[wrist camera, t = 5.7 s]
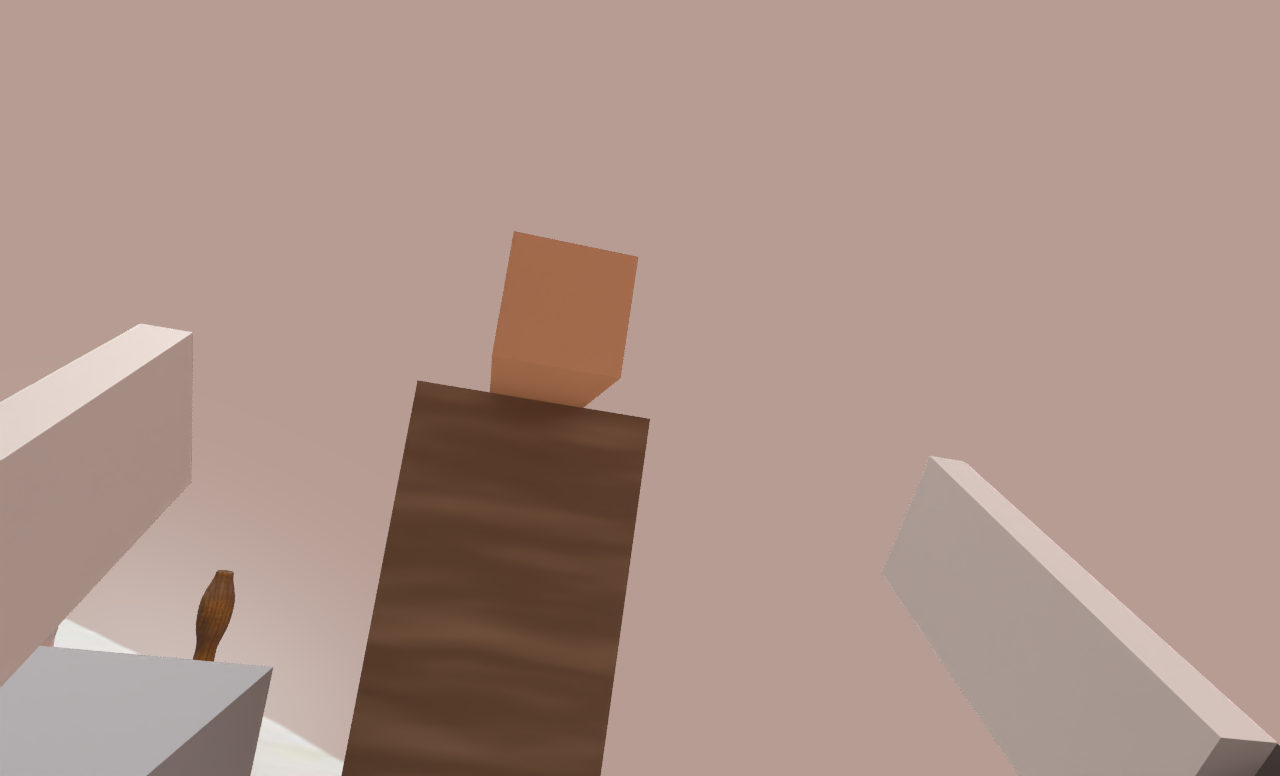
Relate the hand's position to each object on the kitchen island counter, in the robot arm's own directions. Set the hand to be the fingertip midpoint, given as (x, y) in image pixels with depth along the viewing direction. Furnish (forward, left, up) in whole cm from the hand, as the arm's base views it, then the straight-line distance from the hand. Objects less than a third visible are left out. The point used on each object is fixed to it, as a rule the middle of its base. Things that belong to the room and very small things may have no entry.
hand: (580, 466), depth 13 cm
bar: (+17, +12, +3) cm, 21 cm away
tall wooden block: (+21, +14, -27) cm, 37 cm away
